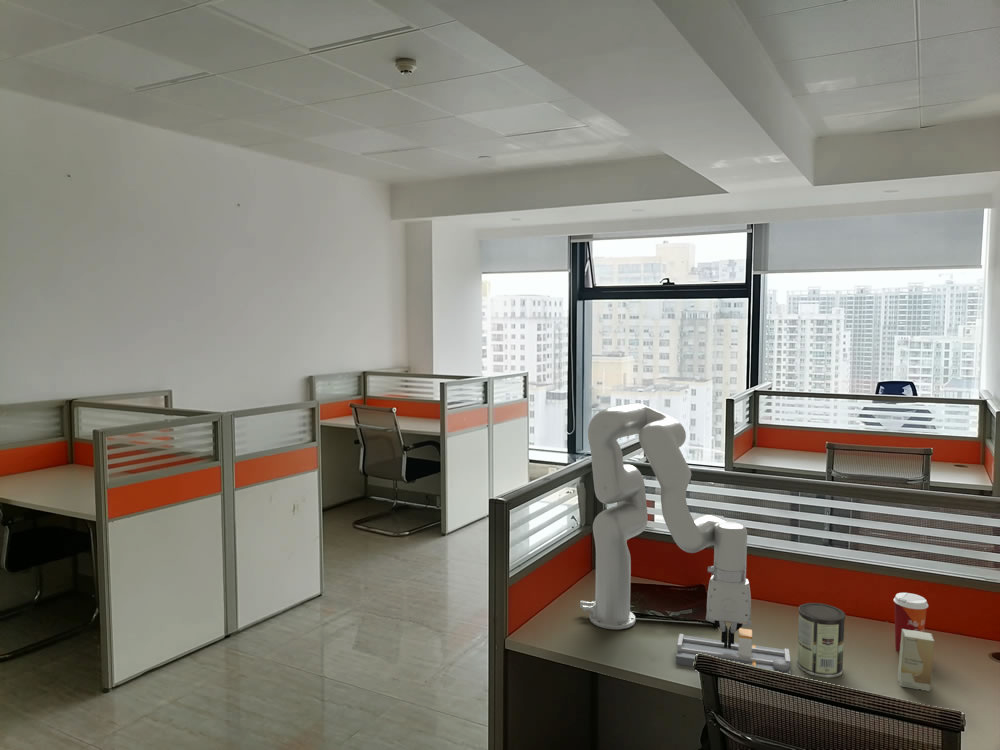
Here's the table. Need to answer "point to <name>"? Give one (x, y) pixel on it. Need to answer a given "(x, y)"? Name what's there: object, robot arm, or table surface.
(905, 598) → the paper cup
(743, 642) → the fader
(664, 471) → the robot arm
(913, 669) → the skincare box
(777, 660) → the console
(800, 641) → the coffee can
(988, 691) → the table surface
